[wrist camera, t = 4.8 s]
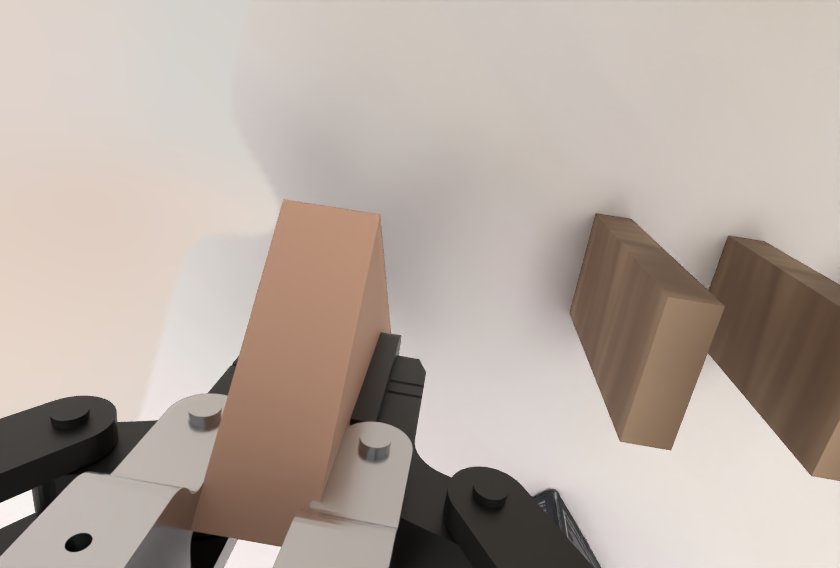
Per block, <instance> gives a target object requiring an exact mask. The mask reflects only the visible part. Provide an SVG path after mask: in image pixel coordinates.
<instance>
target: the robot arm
mask: <svg viewBox="0 0 840 568" xmlns="http://www.w3.org/2000/svg"><path fill="white" fill-rule="evenodd" d="M400 343H401V335H396V334H390V333H384V332H381V333H380V336H379V339H378V342H377V344H376V347H375V350H374V353H373V356H372V359H371V361H370V364H369V367H368V370H367V373H366V376H365V379H364V381H363V384H362V387H361V390H360V393H359V396H358V398H357V401H356V404H355V407H354V410H353V413H352V416H351V418H350V426H349V427H347V428H346V429H345V432H344V435H343V437H342V440H341V443H340V446H339V449H338V452H337V454H336V457H335V460H334V463H333V466H332V468H331V471H330V474H329V477H328V480H327V483H326V485H325V488H324V491H323V494H322V497H321V499H320V502H318V501H311V504H310V506H309V509H308V510H305V509H300V510H299V511H298V512H297V514H296V515H295V517H294V519H293V522H292V524H291V526H290V529H289V531H288V533H287V535H286V538H285V540H284V542H283V545H282V547H281V549H280V552H279V554H278V556H277V559H276V561H275V563H274V566H273V568H594V567H593V566H592V565H591V564H590V563H589V561H588V560H587V559H586V558H585V557H584V556H583V555H582V553H581V552H580V551H579V550H578V549H577V548H576V547H575V545H574V544H573V543H572V542H571V541H570V540H569V539H568V538H567V536H566V535H565V534H564V533H563V532H562V531H561V530H560V528H559V527H558V526H557V525H556V524H555V523H554V522H553V521H552V519H551V518H550V517H549V516H548V515H547V514H546V513H545V511H544V510H543V509H542V508H541V507H540V506H539V505H538V504H537V502H536V501H535V500H534V499H533V498H532V497H531V496H530V494H529V493H528V492H527V491H526V490H525V489H524V488H523V486H522V485H521V484H520V483H519V482H518V481H516V480H515V479H514V478H512V477H511V476H509V475H507V474H506V473H504V472H501V471H499V470H496V469H492V468H488V467H470V468H466V469H463V470H460V471H459V472H457V473H456V474H455V475H453V477H452V478H451V477H449V476H447V475H444V474H442V473H440V472H438V471H436V470H434V469H433V468H431V467H430V466H429V465H427V464H426V463H425V462H424V461H423V460H422V459H421V458H420V456H419V455H418V453H417V451H416V448H415V435H416V429H417V423H418V417H419V411H420V405H421V399H422V393H423V387H424V381H425V375H426V371H425V369H424V368H423V366H422V364H421V362H420V360H419V359H414V358H408V357H403V356H399V350H400ZM238 358H239V356H238ZM238 358H237V359H236V360H235V361H234V362H233V365H232V366H230V367H229V368H228V370H227V371H226V372H225V373H224V374H223V376H222V377H221V378H220V379H219V380H218V382H217V383H216V384H215V385H214V386H213V388H212V389H211V390H210V391H209V392H208V394H199V395H194V396H190V397H187V398H184V399H182V400H180V401H178V402H176V403H175V404H173V405H172V406H171V407H170V408H169V409H168V410H167V411H166V412H165V413H164V414H163V415H162V417H161V418H160V419H159V420H156V421H136V422H117V413H116V408H115V406H114V405H113V404H112V403H111V402H110V401H108V400H106V399H103V398H100V397H94V396H74V397H67V398H63V399H59V400H55V401H52V402H49V403H46V404H43V405H40V406H37V407H34V408H31V409H28V410H25V411H22V412H19V413H16V414H13V415H10V416H7V417H4V418H1V419H0V503H1V502H3V501H5V500H8V499H10V498H12V497H15V496H17V495H19V494H22V493H24V492H26V491H29V490H31V489H32V494H33V500H34V507H35V513H34V514H32V515H29V516H27V517H25V518H23V519H21V520H19V521H16V522H14V523H12V524H10V525H8V526H6V527H3V528H1V529H0V568H224V566H225V564H226V562H227V560H228V558H229V556H230V554H231V552H232V550H233V548H234V546H235V544H236V542H237V540H238V539H235V538H229V537H224V536H218V535H212V534H207V533H201V532H195V531H190V530H191V527H192V523H193V520H194V516H195V512H196V509H197V505H198V502H199V498H200V495H201V491H202V487H203V484H204V478H205V474H206V471H207V467H208V464H209V460H210V457H211V453H212V450H213V446H214V443H215V439H216V436H217V432H218V429H219V425H220V422H221V418H222V415H223V411H224V407H225V404H226V400H227V397H228V393H229V390H230V386H231V383H232V379H233V376H234V372H235V369H236V365H237V362H238Z"/></svg>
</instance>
